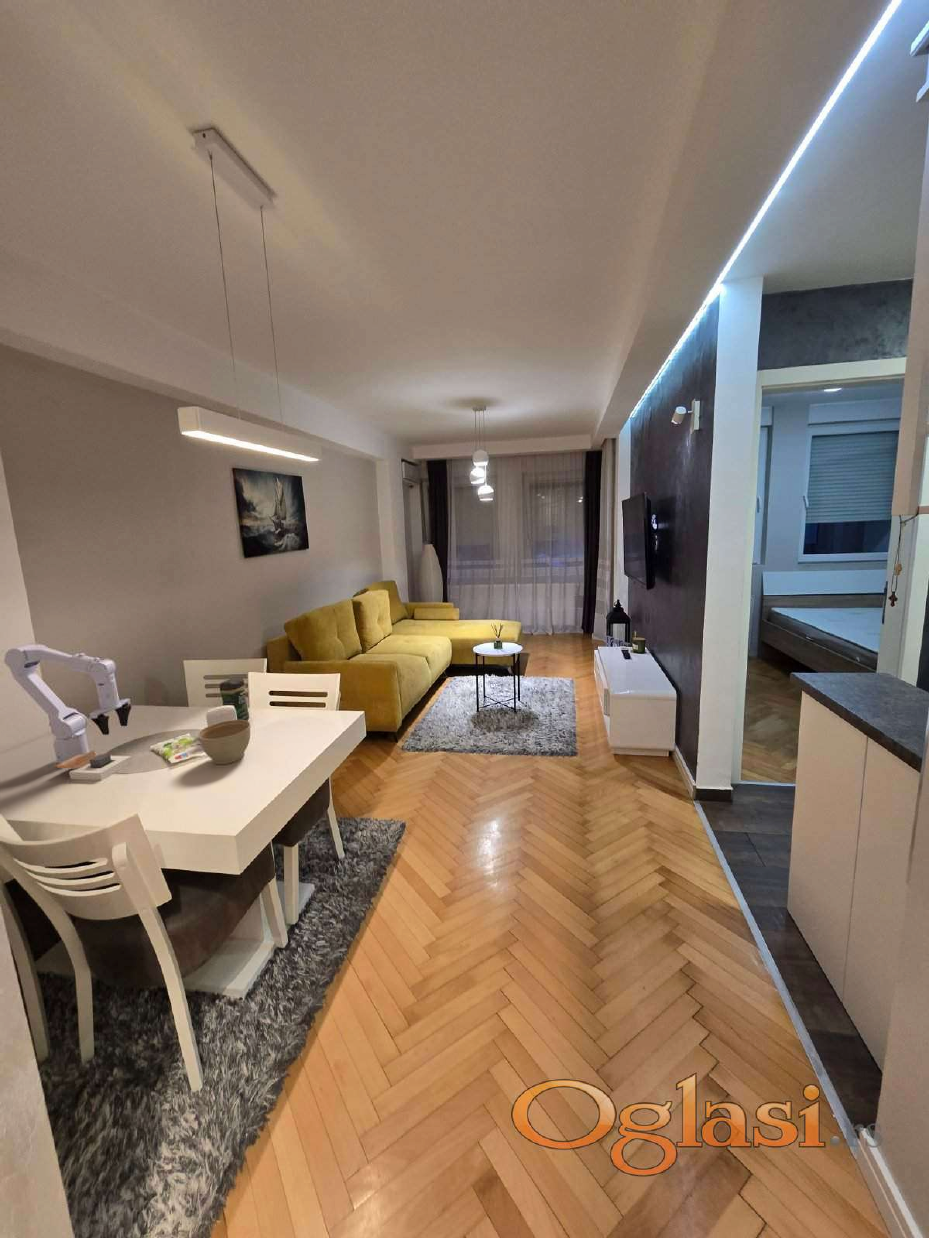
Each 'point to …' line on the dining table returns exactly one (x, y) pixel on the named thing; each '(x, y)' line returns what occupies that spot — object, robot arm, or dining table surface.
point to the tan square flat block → (77, 761)
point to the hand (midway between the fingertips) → (115, 729)
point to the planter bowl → (225, 740)
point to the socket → (101, 769)
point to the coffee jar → (235, 696)
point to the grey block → (100, 761)
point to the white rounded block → (221, 714)
